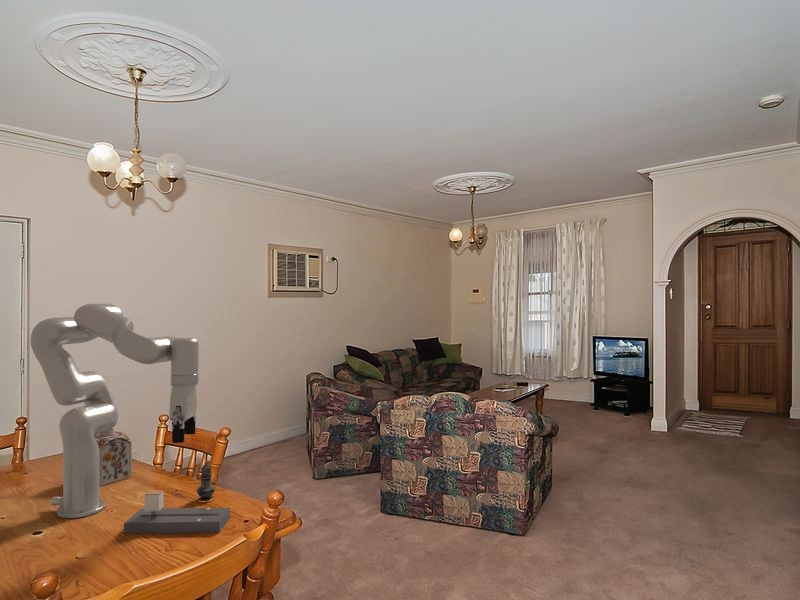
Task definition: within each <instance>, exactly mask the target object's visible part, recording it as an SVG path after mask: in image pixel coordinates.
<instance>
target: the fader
mask: <svg viewBox="0 0 800 600" xmlns="http://www.w3.org/2000/svg"><path fill="white" fill-rule="evenodd" d="M164 492H165V491H164V489H162V490H161V489H160V490H159V489H157V490H154V489H151V490H148V491H147V492H146V493H145V494H144V509H145V511H151V515H156V514H157V511H160V510H161V509H163V508H164V497H165V496H164Z"/></svg>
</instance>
